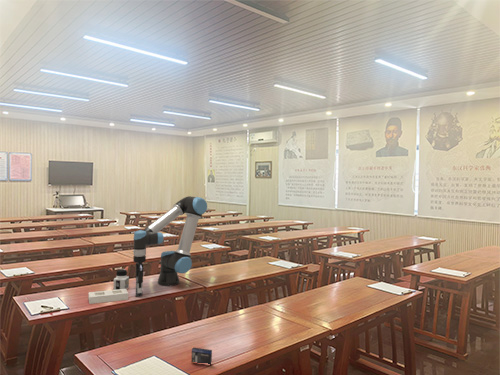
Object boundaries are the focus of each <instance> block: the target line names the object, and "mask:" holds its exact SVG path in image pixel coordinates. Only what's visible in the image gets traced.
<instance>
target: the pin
mask: <svg viewBox="0 0 500 375" xmlns="http://www.w3.org/2000/svg"><path fill="white" fill-rule="evenodd" d="M137 282H138V276H137V277H136V276H135V297H142V296H143V292H142V293H137V285H138V283H137Z"/></svg>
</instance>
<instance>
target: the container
mask: <svg viewBox="0 0 500 375" xmlns="http://www.w3.org/2000/svg"><path fill="white" fill-rule="evenodd" d="M127 274H128V272H127V269H125V268H120V269H117V270H116V275H115V277H114V278H113V285H112V286H113V287H112V288H113V289H112V290H118V289H126V290H127V289H128V288H129V286H130V281H129V280H130V276H129V275H128V276H127Z"/></svg>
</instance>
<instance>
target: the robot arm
mask: <svg viewBox="0 0 500 375" xmlns="http://www.w3.org/2000/svg"><path fill="white" fill-rule="evenodd" d="M207 210H208V204H207V201H206V200H205V199H204V198H203V197H199V196H189V195H188V196H185V197H183V198H181V199H180V200H179V201H177V202H175V204H173V205H172V207H171V208H170V209H169V210H167V211H166V212H165V213H163V214H162V215H161V216H159V218H156V220H155V221H153V222H152V223H150V224H149V225H148V226H147V227H145V228H144V229H140V230H136V231H134V233H133V250H132V252H133V259H132V260H133V263H135V278H136V277H137V276H138V282H137V283H138V285H137V293H142V294H143V283H144V264H143V263H145V262H146V260H147V259H146V258H147V246H153V245H159V244H163V242H164V234H163V232H160V231H161V230H163V229H164V228H165V227H167V226H168V225H169V224H171V223H172V222H173V221H174V220H175V219H177V218H178V217H179V216H183V215H184V214H185V215H186V218H185V222H184V226H183V229H182V233H181V236H180V240H179V243H178V247H177V249H176V250H166V251H162V252H161V254H160V274H159V276H158V278H157V284H158V285H159V286H165V287H169V286H170V285H172V286H176V285H178V284H180V278H179V275H178V274H186V273H187V272H189V271H190V270H191V268H192V266H193V261H192V258H191V257H192V254H191V248H192V245H193V242H194V238H195V234H196V230H197V227H198V223H199V220H200V219H202V216H203V215H204V214H205V213H206V212H207ZM175 284H176V285H175Z"/></svg>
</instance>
